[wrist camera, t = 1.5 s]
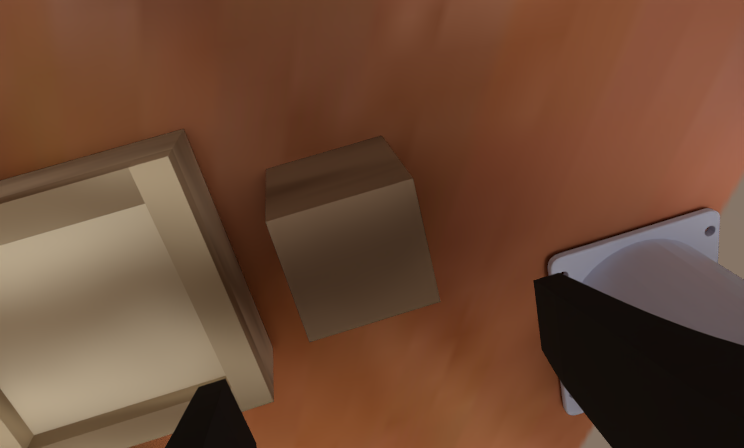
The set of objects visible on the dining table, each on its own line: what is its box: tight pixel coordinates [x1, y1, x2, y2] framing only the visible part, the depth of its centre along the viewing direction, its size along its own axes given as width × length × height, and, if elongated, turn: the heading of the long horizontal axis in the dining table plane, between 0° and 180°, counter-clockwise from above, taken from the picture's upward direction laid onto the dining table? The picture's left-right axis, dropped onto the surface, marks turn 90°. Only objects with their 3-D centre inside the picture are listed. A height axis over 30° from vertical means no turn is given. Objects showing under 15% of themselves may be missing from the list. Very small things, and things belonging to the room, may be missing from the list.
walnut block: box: [265, 136, 440, 342], centre depth 19 cm, size 4×4×5 cm
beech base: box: [0, 129, 274, 448], centre depth 19 cm, size 10×10×3 cm
